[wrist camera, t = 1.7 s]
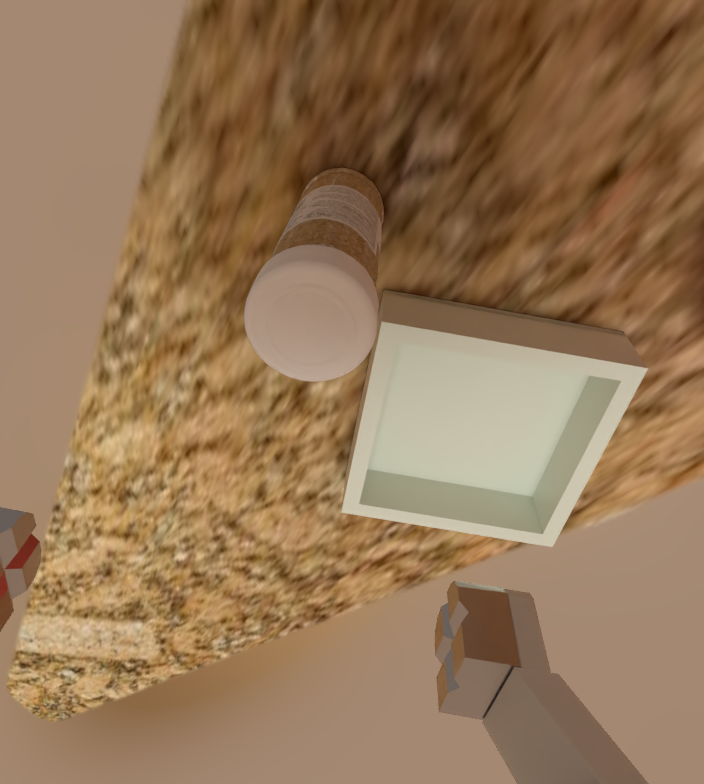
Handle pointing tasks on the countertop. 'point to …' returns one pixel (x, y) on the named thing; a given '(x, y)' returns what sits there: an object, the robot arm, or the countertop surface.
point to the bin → (484, 417)
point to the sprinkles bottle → (321, 281)
